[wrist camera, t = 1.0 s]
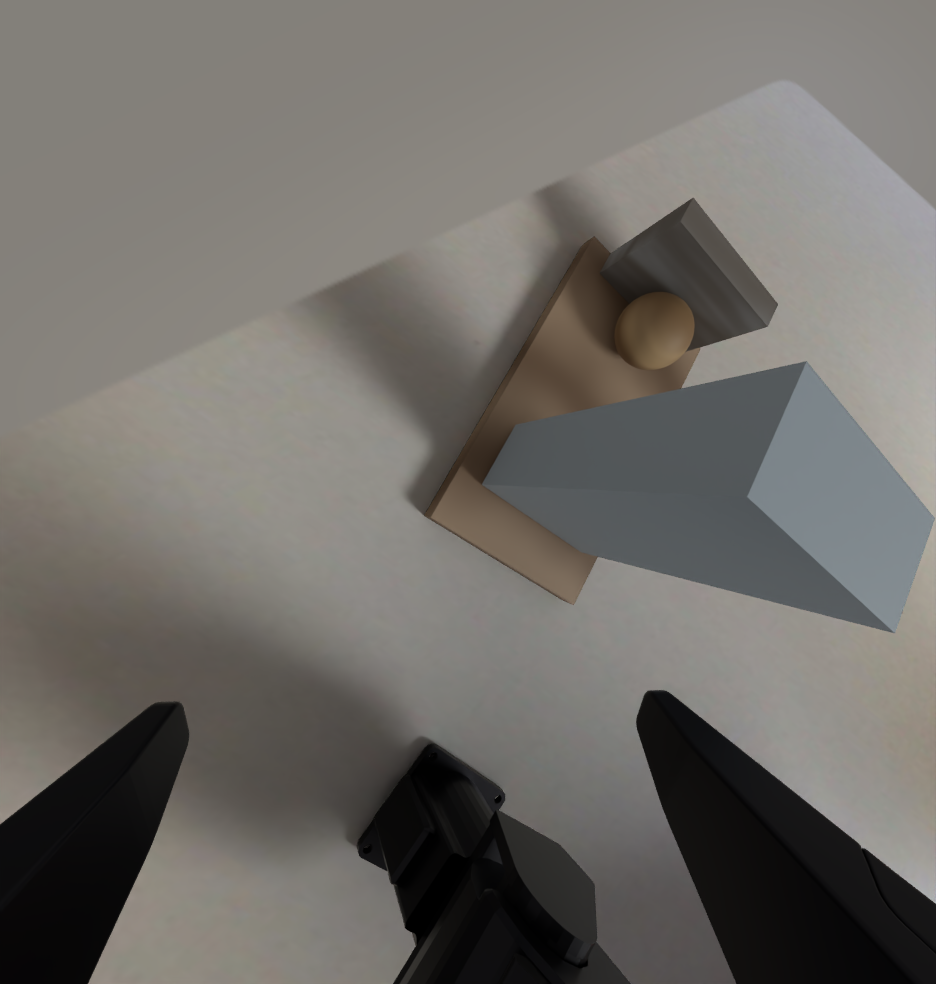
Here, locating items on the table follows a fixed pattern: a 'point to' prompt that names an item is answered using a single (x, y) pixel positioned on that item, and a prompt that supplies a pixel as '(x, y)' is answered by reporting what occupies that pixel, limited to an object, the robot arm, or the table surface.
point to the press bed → (595, 374)
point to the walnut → (654, 331)
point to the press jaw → (729, 493)
